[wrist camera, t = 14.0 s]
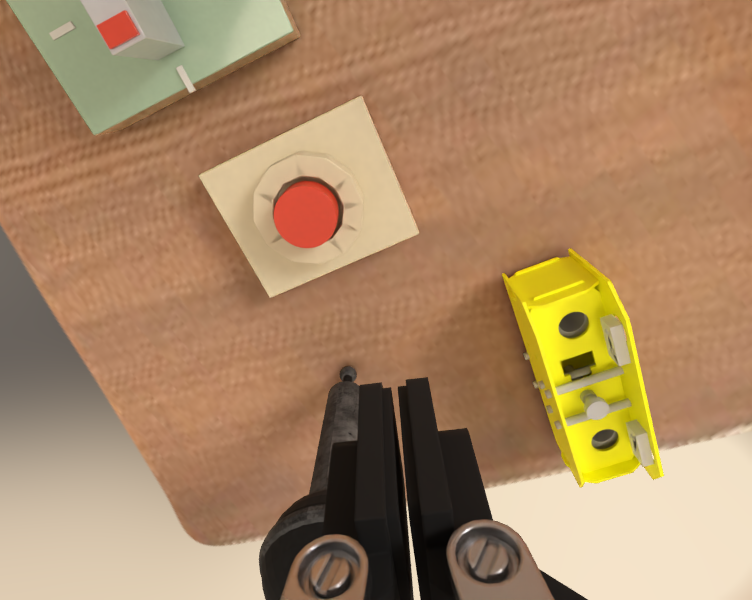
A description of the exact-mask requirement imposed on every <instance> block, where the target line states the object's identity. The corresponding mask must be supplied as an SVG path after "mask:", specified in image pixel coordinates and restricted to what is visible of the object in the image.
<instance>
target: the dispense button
mask: <svg viewBox="0 0 752 600" xmlns="http://www.w3.org/2000/svg"><path fill="white" fill-rule="evenodd" d="M338 216H339V208H338V203H337V201H336V198H335V197H334V195H333V194H332V192H331V191H330V190H329V189H328V188H326V187H325V186H324V185H322V184H320V183H317V182H314V181H301V182H297V183H295V184H293V185H291V186H290V187H288V188H287V189H286V190H285V191H284V193H283V194H282V195H281V196H280V198H279V199H278V201H277V203H276V205H275V208H274V223H275V226H276V229H277V231H278V232H279V234H280V235H281V236H282V238H284V239H285V240H286V241H287V242H288V243H290V244H292V245H294V246H296V247H300V248H314V247H317V246H320V245H322V244H324V243H325V242H326V241H328V240H329V239H330V237H331V236H332V235H333V233H334V231H335V228H336V225H337V221H338Z"/></svg>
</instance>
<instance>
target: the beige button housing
mask: <svg viewBox="0 0 752 600" xmlns="http://www.w3.org/2000/svg"><path fill="white" fill-rule="evenodd" d="M198 176H199V178H200V180H201V181H202V183H203V185H204V187H205V188H206V190H207V192H208V193H209V195H210V197H211V198H212V200H213V202H214V204H215V205H216V207H217V209H218V210H219V212H220V214H221V215H222V217H223V219H224V221H225V222H226V224H227V226H228V227H229V229H230V231H231V233H232V234H233V236H234V238H235V239H236V241H237V243H238V244H239V246H240V248H241V250H242V251H243V253H244V255H245V256H246V258H247V260H248V261H249V263H250V265H251V267H252V268H253V270H254V272H255V273H256V275H257V277H258V278H259V280H260V282H261V284H262V285H263V287H264V289H265V290H266V292H267V294H268V296H269V297H270V298H271V297H274V296H276V295H278V294H281V293H283V292H285V291H288V290H290V289H292V288H294V287H297V286H299V285H301V284H304V283H306V282H308V281H311V280H313V279H315V278H318V277H320V276H322V275H325V274H327V273H329V272H332V271H334V270H336V269H339V268H341V267H343V266H346V265H348V264H350V263H353V262H355V261H357V260H360V259H362V258H364V257H367V256H369V255H371V254H374V253H376V252H378V251H381V250H383V249H385V248H387V247H390V246H392V245H394V244H397V243H399V242H401V241H404V240H406V239H408V238H411V237H413V236H415V235H418V234H419V231H418V228H417V224H416V222H415V220H414V217H413V215H412V213H411V210H410V208H409V206H408V203H407V201H406V198H405V196H404V194H403V191H402V189H401V187H400V184H399V182H398V180H397V177H396V175H395V173H394V170H393V168H392V165H391V163H390V161H389V158H388V156H387V154H386V151H385V149H384V147H383V144H382V142H381V139H380V137H379V135H378V132H377V130H376V128H375V125H374V123H373V121H372V118H371V116H370V114H369V111H368V109H367V106H366V104H365V102H364V99H363V97H362V96H359V97H357V98H355V99H352V100H350V101H348V102H346V103H344V104H342V105H340V106H338V107H336V108H334V109H332V110H330V111H328V112H326V113H324V114H322V115H320V116H318V117H316V118H314V119H312V120H310V121H307V122H305V123H303V124H301V125H299V126H297V127H295V128H293V129H291V130H289V131H287V132H285V133H283V134H281V135H279V136H277V137H275V138H273V139H271V140H269V141H267V142H265V143H262V144H260V145H258V146H256V147H254V148H252V149H250V150H248V151H246V152H244V153H242V154H240V155H238V156H236V157H234V158H232V159H230V160H228V161H226V162H224V163H222V164H220V165H217V166H215V167H213V168H211V169H209V170H207V171H205V172H203V173H202V174H200V175H198ZM301 181H314V182H317V183H320V184H322V185H324V186H325V187H326V188H328V189H329V190H330V191H331V192H332V194H333V195H334V197H335V198H336V201H337V203H338V208H339V216H338V221H337V225H336V228H335V231H334V233H333V235H332V236H331V237H330V239H329V240H328V241H326V242H325V243H324V244H322V245H320V246H317V247H314V248H300V247H296V246H294V245H292V244H290V243H288V242H287V241H286V240H285V239H284V238H282V236H281V235H280V234H279V232H278V231H277V229H276V226H275V223H274V208H275V205H276V203H277V201H278V199H279V198H280V196H281V195H282V194H283V193H284V191H285V190H286V189H287V188H288V187H290V186H291V185H293V184H295V183H297V182H301Z"/></svg>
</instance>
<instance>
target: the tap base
mask: <svg viewBox="0 0 752 600" xmlns="http://www.w3.org/2000/svg"><path fill="white" fill-rule="evenodd" d="M6 1H7V3H8V4H9V6H10V7H11V9H12V10H13V12H14V13H15V15H16V17H17V18H18V20H19V21H20V23H21V24H22V26H23V27H24V29H25V30H26V32H27V33H28V35H29V36H30V38H31V40H32V41H33V43H34V44H35V46H36V47H37V49H38V50H39V52H40V53H41V55H42V56H43V58H44V60H45V61H46V63H47V64H48V66H49V67H50V69H51V70H52V72H53V73H54V75H55V76H56V78H57V79H58V81H59V83H60V84H61V86H62V87H63V89H64V90H65V92H66V93H67V95H68V96H69V98H70V99H71V101H72V102H73V104H74V106H75V107H76V109H77V110H78V112H79V113H80V115H81V116H82V118H83V119H84V121H85V122H86V124H87V126H88V127H89V129H90V130H91V132H92V133H93V135H101V134H106V133H112V132H117V131H120V130H122V129H124V128H126V127H128V126H130V125H132V124H134V123H136V122H138V121H140V120H142V119H143V118H145V117H147V116H149V115H151V114H153V113H155V112H157V111H159V110H161V109H163V108H165V107H166V106H168V105H170V104H172V103H174V102H176V101H178V100H180V99H182V98H184V97H186V96H188V95H190V94H191V93H193V92H195V91H197V90H199V89H201V88H203V87H205V86H207V85H209V84H211V83H213V82H214V81H216V80H218V79H220V78H222V77H224V76H226V75H228V74H230V73H232V72H234V71H236V70H237V69H239V68H241V67H243V66H245V65H247V64H249V63H251V62H253V61H255V60H257V59H259V58H260V57H262V56H264V55H266V54H268V53H270V52H272V51H274V50H276V49H278V48H280V47H282V46H284V45H285V44H287V43H289V42H291V41H293V40H295V39H297V38H299V37H300V36H301V35H300V33H299V30H298V28H297V26H296V24H295V21H294V19H293V17H292V15H291V13H290V10H289V8H288V6H287V4H286V1H285V0H161V1H162V3H163V5H164V7H165V9H166V11H167V13H168V14H169V16H170V18H171V20H172V22H173V24H174V26H175V28H176V30H177V31H178V33H179V35H180V37H181V39H182V41H183V43H184V45H185V46H184V47H182V48H180V49H179V50H177V51H175V52H173V53H171V54H169V55H167V56H165V57H163V58H162V59H160V60H148V59H140V58H131V57H123V56H114V55H112V54H111V52H110V50H109V48H108V47H107V45H106V43H105V42H104V40H103V38H102V37H101V35H100V33H99V32H98V30H97V28H96V26H95V25H94V23H93V21H92V20H91V18H90V16H89V15H88V13H87V11H86V9H85V8H84V6H83V4H82V3H81V1H80V0H6Z"/></svg>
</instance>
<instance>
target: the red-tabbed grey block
mask: <svg viewBox="0 0 752 600" xmlns="http://www.w3.org/2000/svg"><path fill="white" fill-rule="evenodd" d="M80 1H81V3H82V4H83V6H84V8H85V9H86V11H87V13H88V15H89V16H90V18H91V20H92V21H93V23H94V25H95V26H96V28H97V30H98V32H99V33H100V35H101V37H102V38H103V40H104V42H105V43H106V45H107V47H108V48H109V50H110V52H111V54H112V55H114V56H123V57H131V58H140V59H148V60H160V59H162V58H163V57H165V56H167V55H169V54H171V53H173V52H175V51H177V50H179V49H180V48H182V47H184V46H185V45H184V43H183V41H182V39H181V37H180V35H179V33H178V31H177V30H176V28H175V26H174V24H173V22H172V20H171V18H170V16H169V14H168V13H167V11H166V9H165V7H164V5H163V3H162V1H161V0H80Z"/></svg>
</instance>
